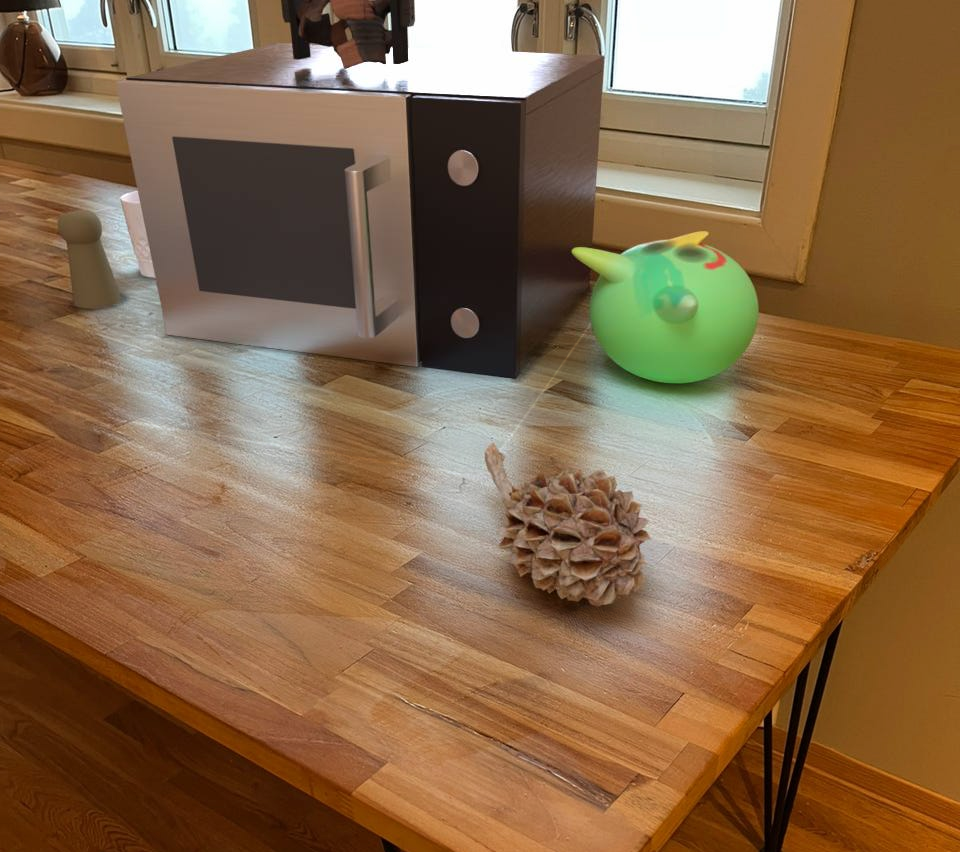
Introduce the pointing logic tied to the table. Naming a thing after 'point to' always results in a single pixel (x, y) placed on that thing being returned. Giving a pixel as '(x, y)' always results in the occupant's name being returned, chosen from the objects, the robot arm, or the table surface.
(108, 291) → the tan game pawn
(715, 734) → the table surface
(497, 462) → the pine cone
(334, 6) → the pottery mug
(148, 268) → the white cup
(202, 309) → the microwave door
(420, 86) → the microwave
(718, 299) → the toy bird
